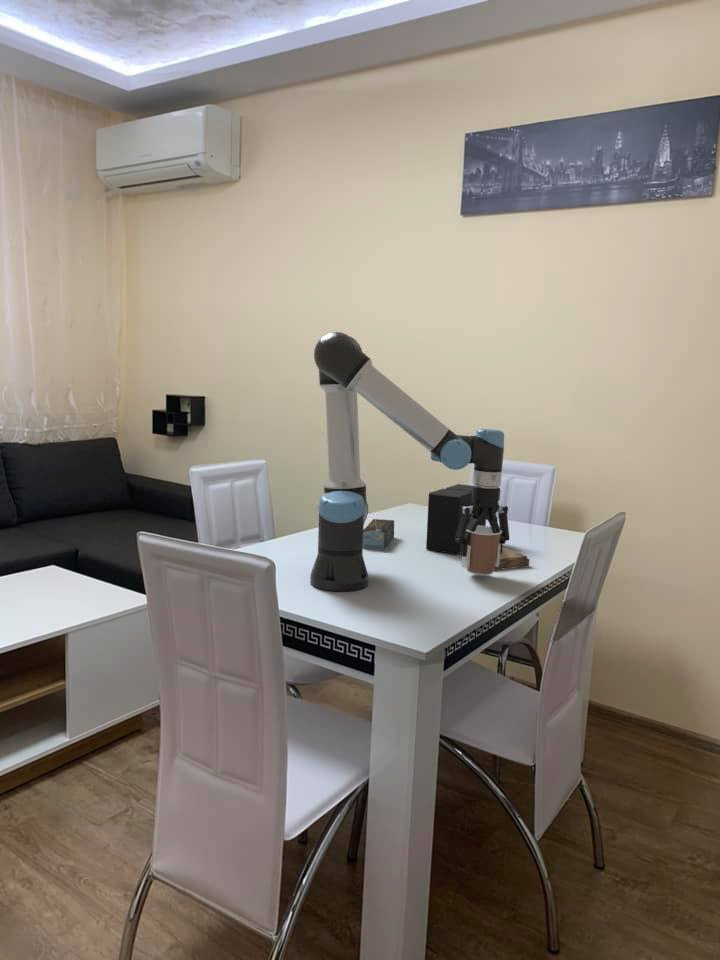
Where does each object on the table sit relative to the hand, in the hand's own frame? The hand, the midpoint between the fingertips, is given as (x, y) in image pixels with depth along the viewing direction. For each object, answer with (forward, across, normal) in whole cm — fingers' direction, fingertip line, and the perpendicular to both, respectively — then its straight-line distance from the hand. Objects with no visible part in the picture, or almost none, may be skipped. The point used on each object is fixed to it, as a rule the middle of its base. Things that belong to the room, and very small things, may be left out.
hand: (480, 566), depth 192 cm
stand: (+3, +13, +11) cm, 17 cm away
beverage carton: (+4, -10, +44) cm, 46 cm away
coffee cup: (+2, 0, 0) cm, 2 cm away
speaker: (+3, +14, +34) cm, 37 cm away
